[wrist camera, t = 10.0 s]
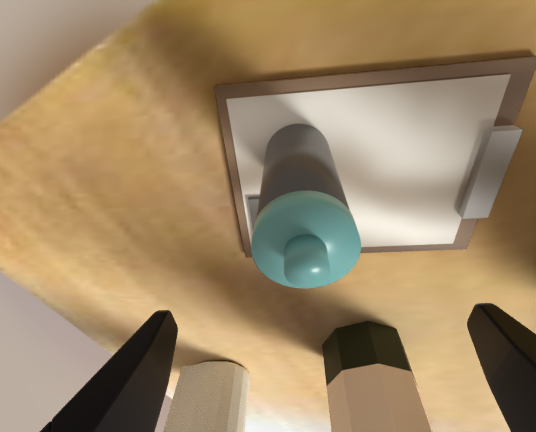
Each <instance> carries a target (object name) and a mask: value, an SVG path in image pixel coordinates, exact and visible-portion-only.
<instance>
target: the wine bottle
mask: <svg viewBox="0 0 536 432" xmlns="http://www.w3.org/2000/svg"><path fill="white" fill-rule="evenodd" d="M322 347H323V357H324V366H325V375H326V384H327V393H328V403H329V412H330V421H331V430H332V432H433V430H432V427H431V424H430V422H429V419H428V416H427V413H426V410H425V407H424V404H423V401H422V399H421V396H420V393H419V390H418V387H417V384H416V381H415V378H414V376H413V373H412V370H411V367H410V364H409V361H408V358H407V355H406V353H405V350H404V347H403V344H402V342H401V339H400V337H399V334H398V332H397V329H394V328H391V327H387V326H383V325H379V324H376V323H372V322H368V321H367V322H363V323H358V324H354V325H350V326H345V327H341V328H337V329H335V330H334V332H333V333H332V334H331V335H330V336H329V338H328V339H327V340H326V341H325V343H324V344H323V345H322Z"/></svg>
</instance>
